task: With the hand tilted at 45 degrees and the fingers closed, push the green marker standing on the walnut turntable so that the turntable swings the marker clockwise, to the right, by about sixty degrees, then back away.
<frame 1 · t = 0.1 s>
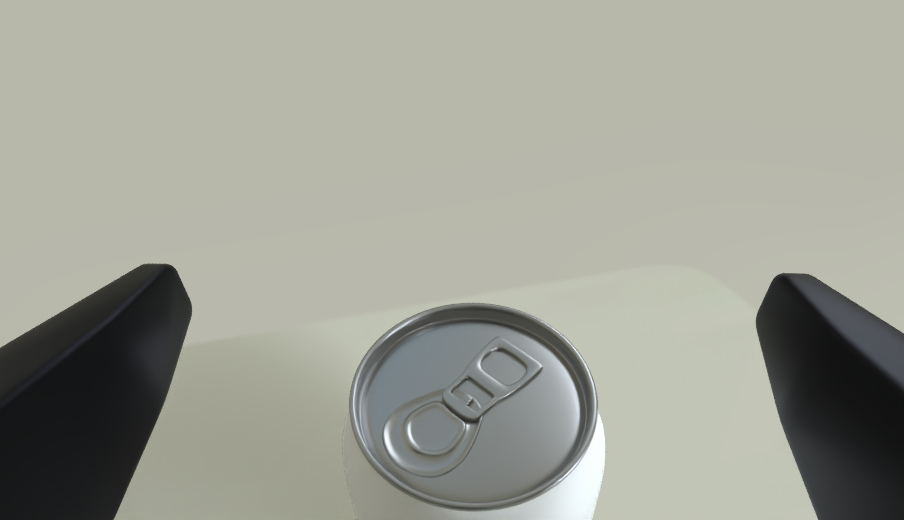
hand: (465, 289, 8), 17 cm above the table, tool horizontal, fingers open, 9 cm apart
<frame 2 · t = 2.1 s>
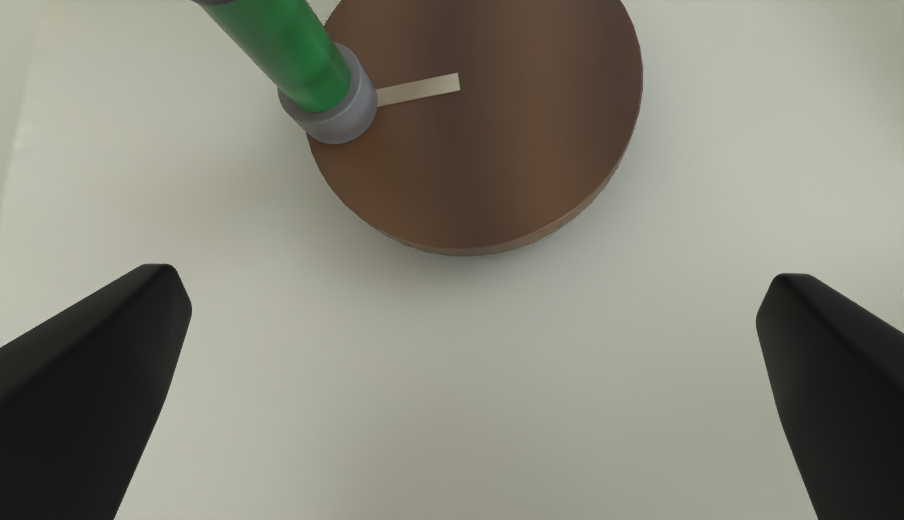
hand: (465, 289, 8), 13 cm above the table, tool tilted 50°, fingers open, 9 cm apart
turntable: (443, 12, 17), point 7 cm above the table, hinge at 0.0°
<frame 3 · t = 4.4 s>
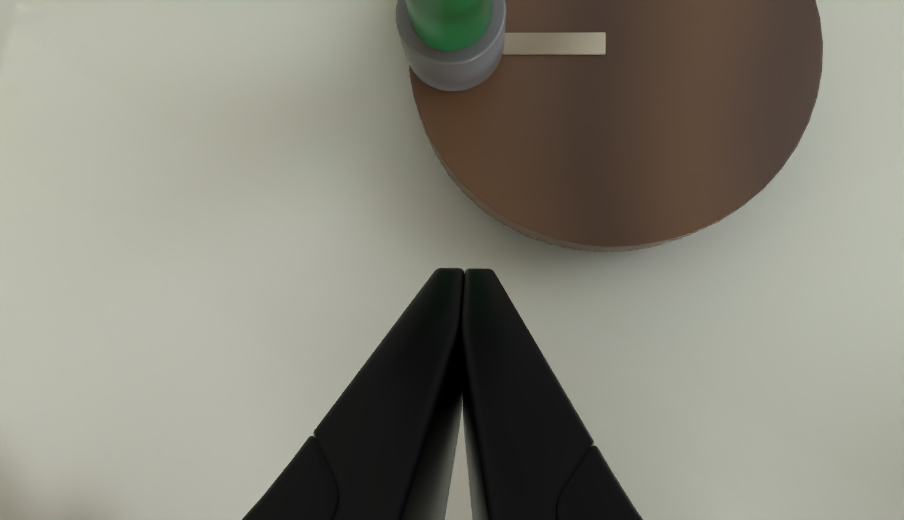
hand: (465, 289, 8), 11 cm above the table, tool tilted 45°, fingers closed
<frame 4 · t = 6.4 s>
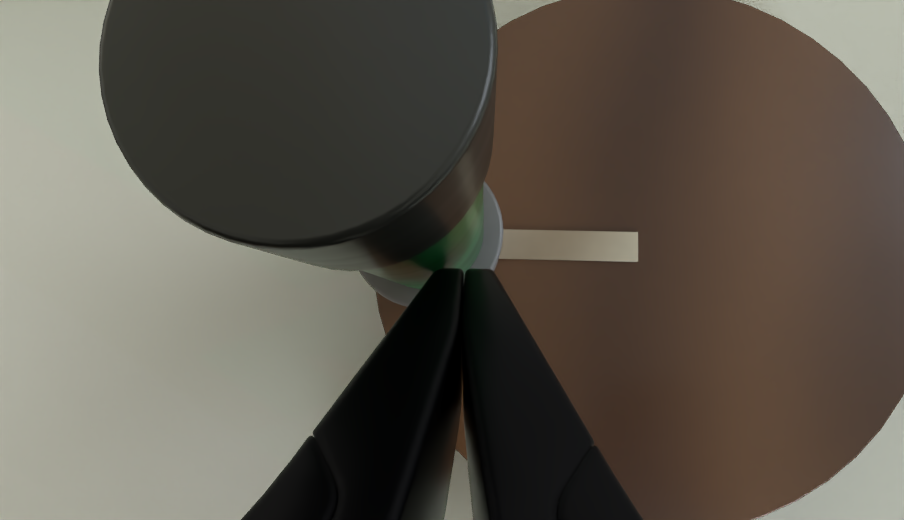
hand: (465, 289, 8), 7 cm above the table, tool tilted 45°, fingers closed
turntable: (719, 215, 9), point 7 cm above the table, hinge at -0.5°, touching gripper
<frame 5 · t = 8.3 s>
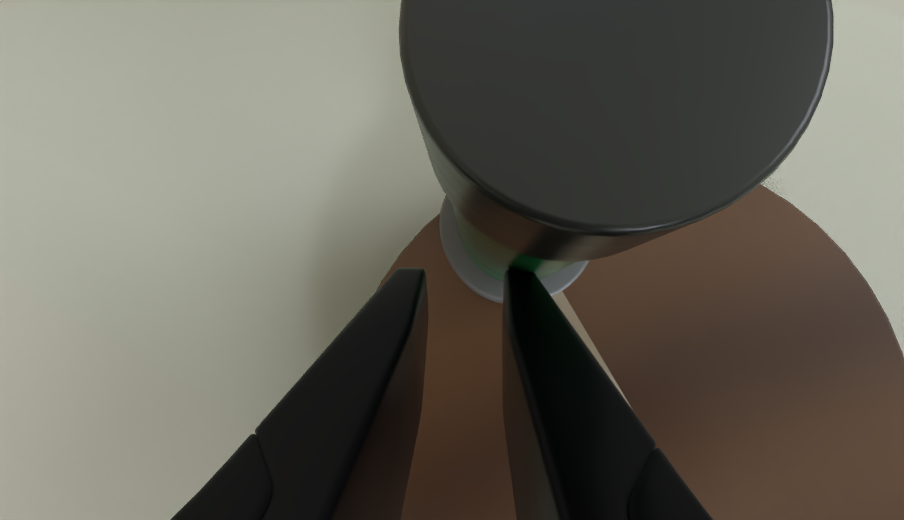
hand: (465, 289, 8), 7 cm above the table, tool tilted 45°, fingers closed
turntable: (694, 479, 8), point 7 cm above the table, hinge at -60.1°, touching gripper
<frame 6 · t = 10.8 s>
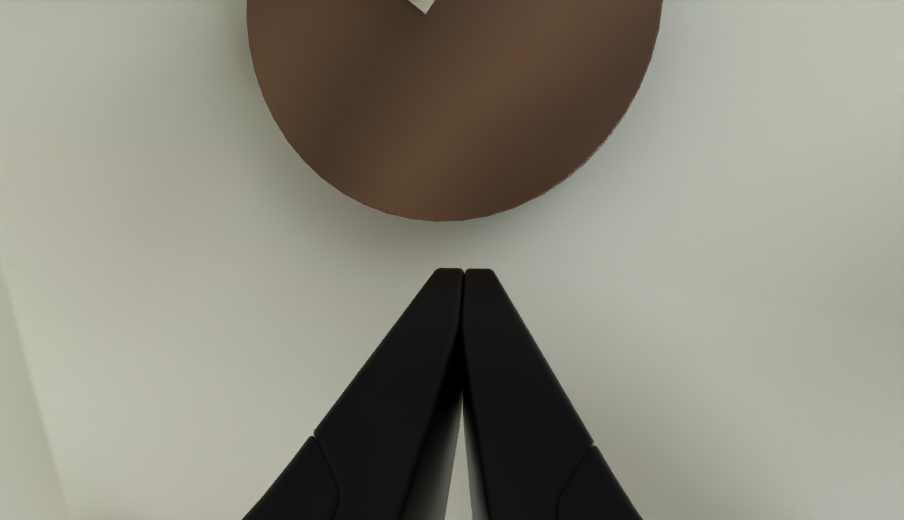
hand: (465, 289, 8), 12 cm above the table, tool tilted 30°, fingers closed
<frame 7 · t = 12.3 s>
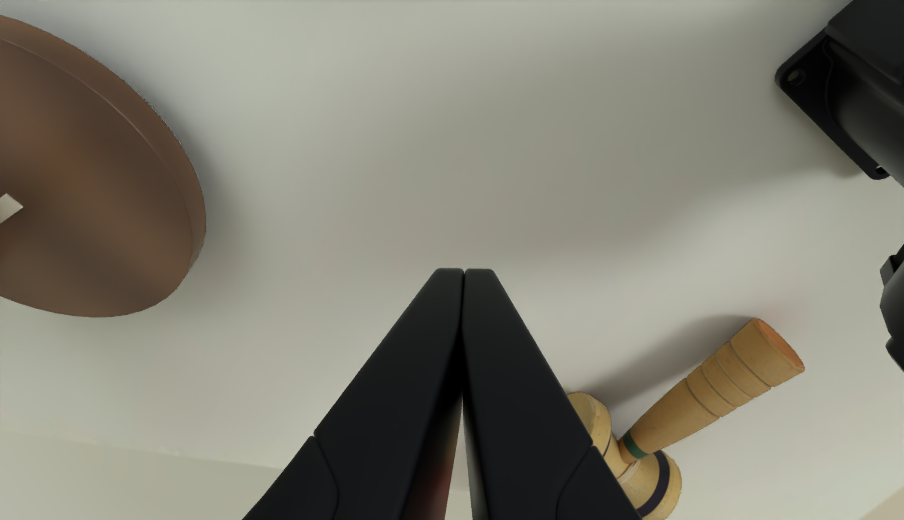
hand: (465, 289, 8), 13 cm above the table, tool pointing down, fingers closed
kendama: (622, 399, 31), on the table
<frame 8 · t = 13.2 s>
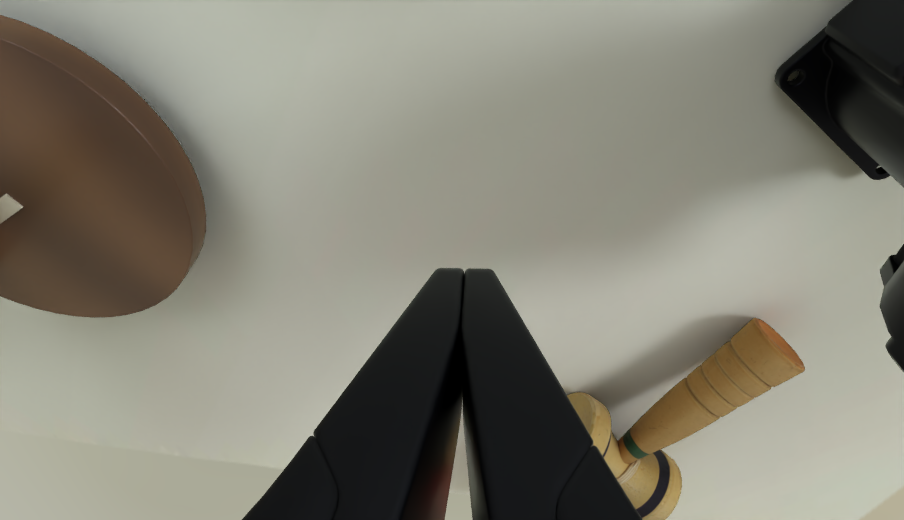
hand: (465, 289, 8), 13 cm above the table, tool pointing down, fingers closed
kendama: (622, 399, 31), on the table
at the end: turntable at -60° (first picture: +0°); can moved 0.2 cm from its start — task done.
